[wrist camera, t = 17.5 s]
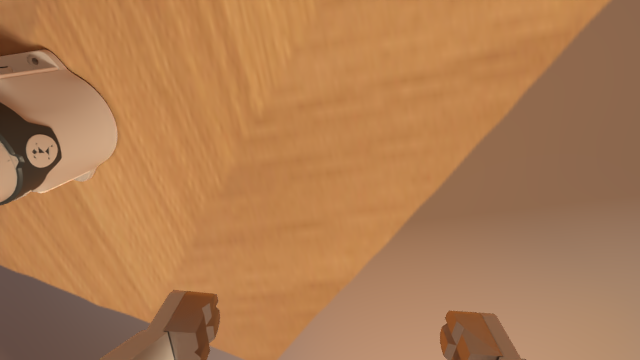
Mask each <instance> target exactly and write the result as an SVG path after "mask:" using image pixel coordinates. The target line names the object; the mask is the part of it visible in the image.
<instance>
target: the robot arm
mask: <svg viewBox="0 0 640 360" xmlns="http://www.w3.org/2000/svg"><path fill="white" fill-rule="evenodd" d="M36 59H37V60H38V62H39V63H38V62H37V60H36ZM116 144H117V127H116V123H115V120H114V117H113V115H112V112H111V110H110V109H109V107H108V105H107V104H106V102H105V101H104V99H103V98H102V97H101V96H100V95H99V93H98V92H97V91H96V90H95V89H94V88H93V87H91V86H90V85H89V84H88V83H86V82H85V81H84V80H82V79H81V78H79V77H78V76H76V75H74V74H73V73H72V72H70V71H69V70H68V69H67V68H66V67H65V66H64V65H63V63H62V62H61V61H60V60H59V59H58V58H57V57H56V56H55V55H54V54H53V53H52V52H50V51H48V50H45V49H42V50H36V51H30V52H24V53H18V54H11V55H5V56H0V205H3V204H6V203H9V202H11V201H14V200H17V199H19V198H21V197H23V196H25V195H27V194H28V193H29V192H31V191H32V192H38V193H44V192H47V191H49V190H52V189H54V188H56V187H58V186H60V185H62V184H65V183H67V182H69V181H71V180H77V181H86V180H88V179H90V178H92V176H93V175H94V173H95V170H96V168H97V167H98V166H99V165H100V164H101V163H103V162H104V161H106V160H107V159H108V158H109V157H110V156H111V155H112V153H113V152H114V150H115V147H116ZM217 303H218V297H217V294H211V293H201V292H191V291H179V290H173V291H172V292H171V293H170V294H169V295H168V297H167V298H166V300H165V301H164V303H163V305H162V306H161V308H160V309H159V311H158V313H157V314H156V316H155V317H154V319H153V321H152V322H151V324H150V325H149V327H148V329H147V330H142V331H140V332H139V333H137V334H136V335H134V336H133V337H131V338H130V339H129V340H127V341H125V342H124V343H123V344H121V345H120V346H118V347H117V348H115V349H114V350H112V351H111V352H110V353H108V354H106V355H105V356H103V357H102V358H100V359H99V360H207V358H208V355H209V352H210V347H209V343H210V342H211V341H213V340H214V339H215V337H216V334H217V331H218V327H219V322H220V311H219V309H218V308H217V307H216V305H217ZM445 319H446V322H447V324H446V325H444V326H443V327H442V329H441V332H440V344H441V349H442V352H443V355H444V357H445V358H446V359H447V360H526V359H521V358H520V356H519V355H518V353H517V351H516V349H515V347H514V346H513V344H512V342H511V341H510V339H509V337H508V335H507V334H506V332H505V330H504V328H503V326H502V325H501V323H500V321H499V320H498V318H497V316H496V315H495V314H490V313H477V312H463V311H449V312H448V313H447V314H446V317H445Z"/></svg>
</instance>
